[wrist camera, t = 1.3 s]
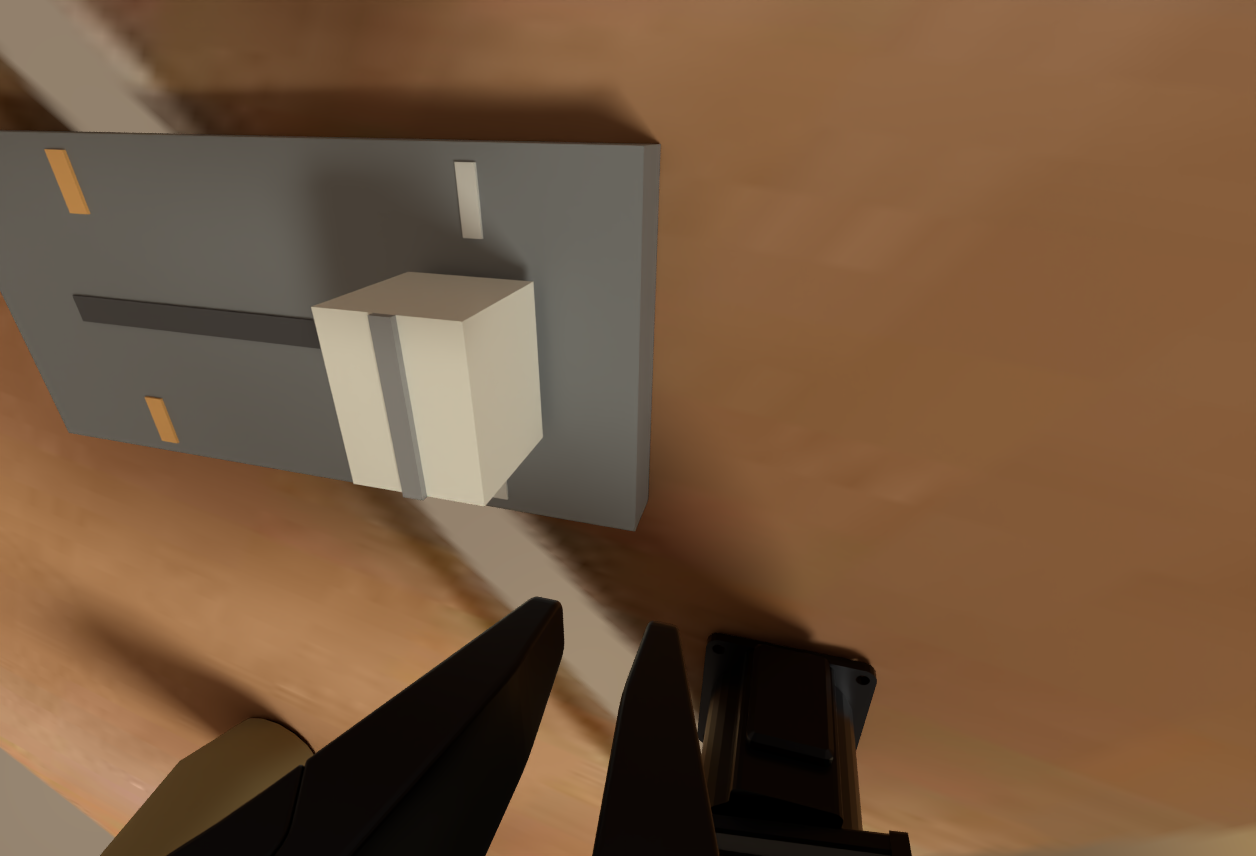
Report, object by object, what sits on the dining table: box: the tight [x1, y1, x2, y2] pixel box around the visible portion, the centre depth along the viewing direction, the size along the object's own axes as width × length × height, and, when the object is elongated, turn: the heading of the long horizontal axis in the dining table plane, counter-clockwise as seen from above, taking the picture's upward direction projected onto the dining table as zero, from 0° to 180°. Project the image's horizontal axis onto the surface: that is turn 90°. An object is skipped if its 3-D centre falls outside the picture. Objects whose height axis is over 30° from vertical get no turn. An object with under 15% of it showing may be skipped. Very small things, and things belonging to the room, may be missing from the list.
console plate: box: [0, 130, 661, 531], centre depth 21 cm, size 12×26×2 cm, turn 89°
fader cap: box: [311, 272, 543, 506], centre depth 16 cm, size 5×4×4 cm
